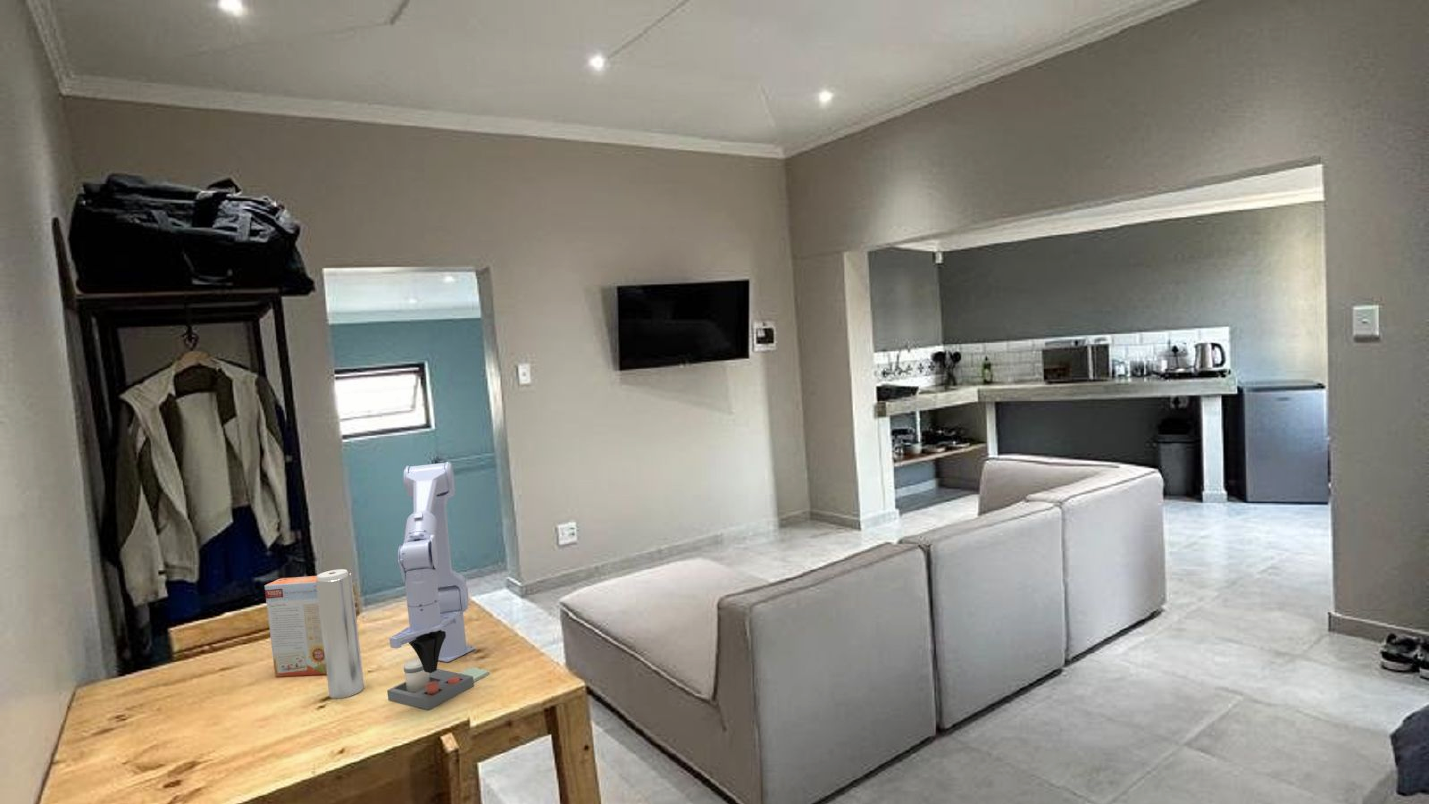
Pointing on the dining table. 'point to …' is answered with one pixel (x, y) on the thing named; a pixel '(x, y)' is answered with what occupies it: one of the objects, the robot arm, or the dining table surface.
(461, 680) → the tray
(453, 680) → the plunger far
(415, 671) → the cylinder
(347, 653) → the aluminum foil roll
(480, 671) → the pad
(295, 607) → the cracker box
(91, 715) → the dining table surface
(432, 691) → the plunger near
